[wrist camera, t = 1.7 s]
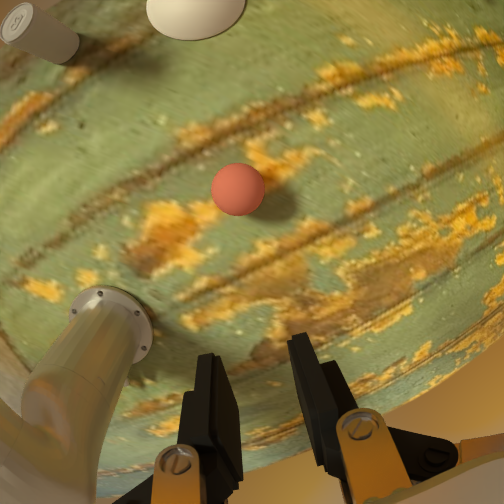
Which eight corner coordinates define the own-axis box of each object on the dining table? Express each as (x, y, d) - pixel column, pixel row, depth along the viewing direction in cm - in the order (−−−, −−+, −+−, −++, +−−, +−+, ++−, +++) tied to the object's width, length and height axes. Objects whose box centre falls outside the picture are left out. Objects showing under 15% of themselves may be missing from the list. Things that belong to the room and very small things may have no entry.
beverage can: (87, 35, 28) (42, 2, 17) (70, 68, 29) (18, 45, 18) (61, 30, 27) (13, 0, 16) (45, 61, 28) (-9, 41, 17)
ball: (261, 210, 37) (267, 220, 31) (213, 211, 36) (210, 221, 31) (261, 162, 35) (267, 163, 30) (212, 163, 35) (209, 164, 29)
